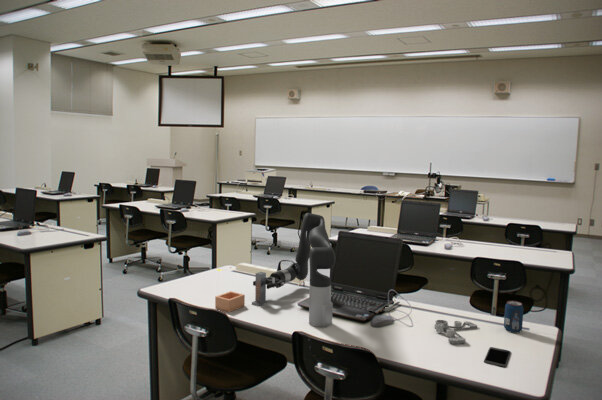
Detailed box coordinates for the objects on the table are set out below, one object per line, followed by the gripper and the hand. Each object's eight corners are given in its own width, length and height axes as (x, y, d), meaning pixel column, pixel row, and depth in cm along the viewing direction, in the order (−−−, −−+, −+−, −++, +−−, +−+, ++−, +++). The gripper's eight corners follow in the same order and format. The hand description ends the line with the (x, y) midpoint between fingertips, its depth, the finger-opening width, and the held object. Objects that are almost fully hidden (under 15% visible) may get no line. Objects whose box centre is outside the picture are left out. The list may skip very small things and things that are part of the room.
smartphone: (482, 363, 153) (483, 361, 153) (489, 348, 165) (489, 345, 165) (505, 369, 149) (506, 367, 149) (511, 353, 161) (511, 350, 161)
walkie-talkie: (380, 316, 196) (401, 305, 212) (380, 307, 196) (401, 296, 211) (363, 312, 202) (385, 301, 217) (364, 302, 202) (385, 293, 217)
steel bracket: (266, 302, 211) (266, 272, 210) (258, 306, 206) (259, 275, 205) (259, 300, 214) (259, 271, 212) (251, 304, 209) (251, 274, 207)
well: (244, 305, 207) (244, 294, 206) (229, 312, 198) (229, 300, 197) (230, 302, 212) (230, 291, 211) (215, 307, 203) (215, 296, 202)
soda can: (512, 326, 186) (514, 299, 185) (525, 332, 180) (527, 304, 179) (499, 328, 184) (501, 301, 183) (513, 334, 178) (515, 306, 176)
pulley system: (424, 340, 173) (462, 348, 164) (424, 328, 173) (462, 335, 164) (444, 322, 196) (479, 328, 187) (444, 311, 195) (479, 317, 187)
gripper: (269, 268, 227) (249, 275, 213) (291, 273, 219) (271, 280, 205) (269, 282, 228) (249, 290, 214) (291, 287, 220) (271, 295, 206)
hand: (260, 285), depth 210 cm, fingers open, 8 cm apart
